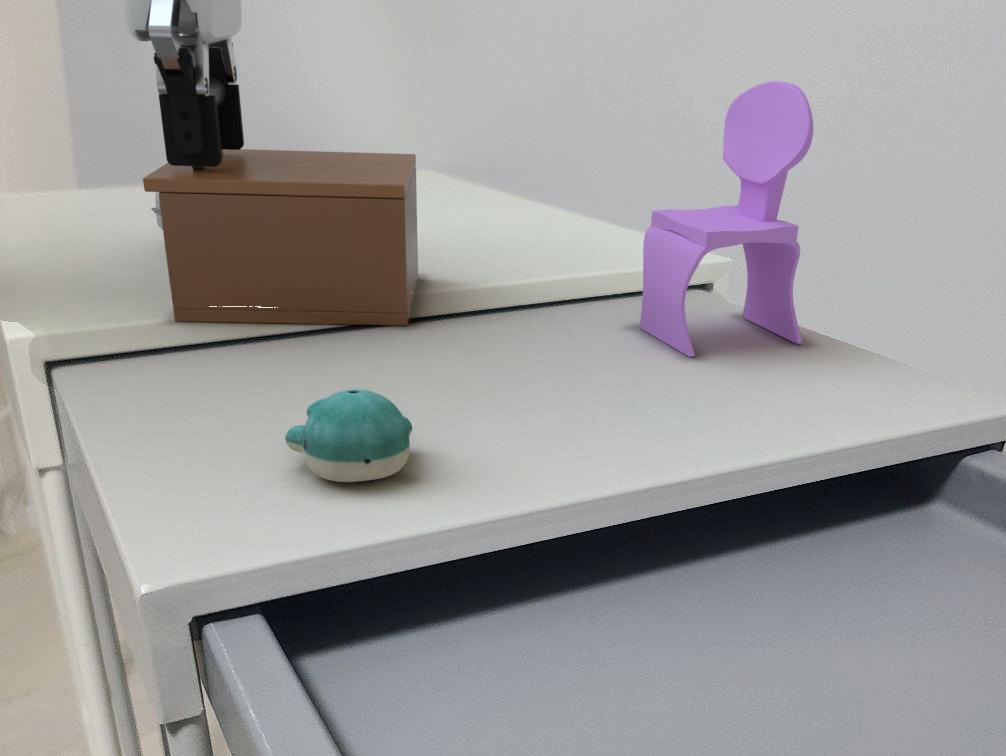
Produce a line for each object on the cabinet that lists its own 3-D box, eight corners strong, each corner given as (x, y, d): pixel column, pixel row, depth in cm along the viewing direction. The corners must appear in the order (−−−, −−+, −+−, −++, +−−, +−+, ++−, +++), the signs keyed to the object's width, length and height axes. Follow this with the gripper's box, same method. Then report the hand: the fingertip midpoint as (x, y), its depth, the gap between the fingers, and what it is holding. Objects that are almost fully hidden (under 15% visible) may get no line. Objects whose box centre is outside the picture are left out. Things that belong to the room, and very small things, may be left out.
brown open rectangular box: (174, 321, 67) (157, 193, 64) (216, 273, 78) (204, 160, 74) (407, 325, 68) (404, 199, 64) (418, 277, 79) (415, 166, 75)
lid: (144, 191, 63) (130, 90, 61) (192, 159, 74) (183, 72, 72) (404, 198, 64) (402, 98, 62) (415, 165, 75) (414, 79, 72)
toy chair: (625, 324, 70) (643, 75, 63) (738, 312, 73) (767, 75, 66) (691, 363, 63) (719, 90, 56) (812, 348, 67) (853, 89, 60)
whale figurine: (298, 499, 46) (292, 416, 44) (276, 435, 52) (270, 359, 50) (431, 484, 47) (430, 403, 46) (395, 424, 53) (393, 350, 52)
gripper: (146, -167, 67) (181, 136, 76) (48, -206, 52) (106, 178, 61) (267, -161, 68) (288, 139, 76) (204, -199, 53) (240, 182, 61)
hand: (207, 153), depth 68 cm, fingers closed on lid, 6 cm apart
